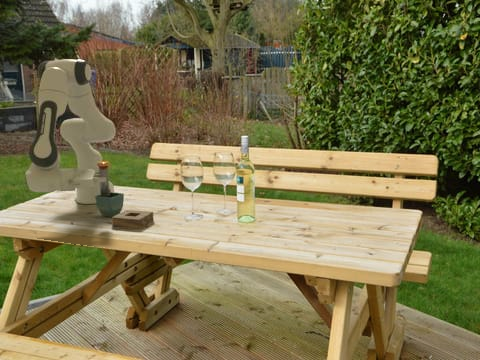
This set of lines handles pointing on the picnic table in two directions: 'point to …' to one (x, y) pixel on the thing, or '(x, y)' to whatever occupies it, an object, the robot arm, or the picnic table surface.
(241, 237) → the picnic table surface
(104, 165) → the pin
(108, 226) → the picnic table surface
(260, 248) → the picnic table surface
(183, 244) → the picnic table surface
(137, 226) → the block
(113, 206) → the flower pot
